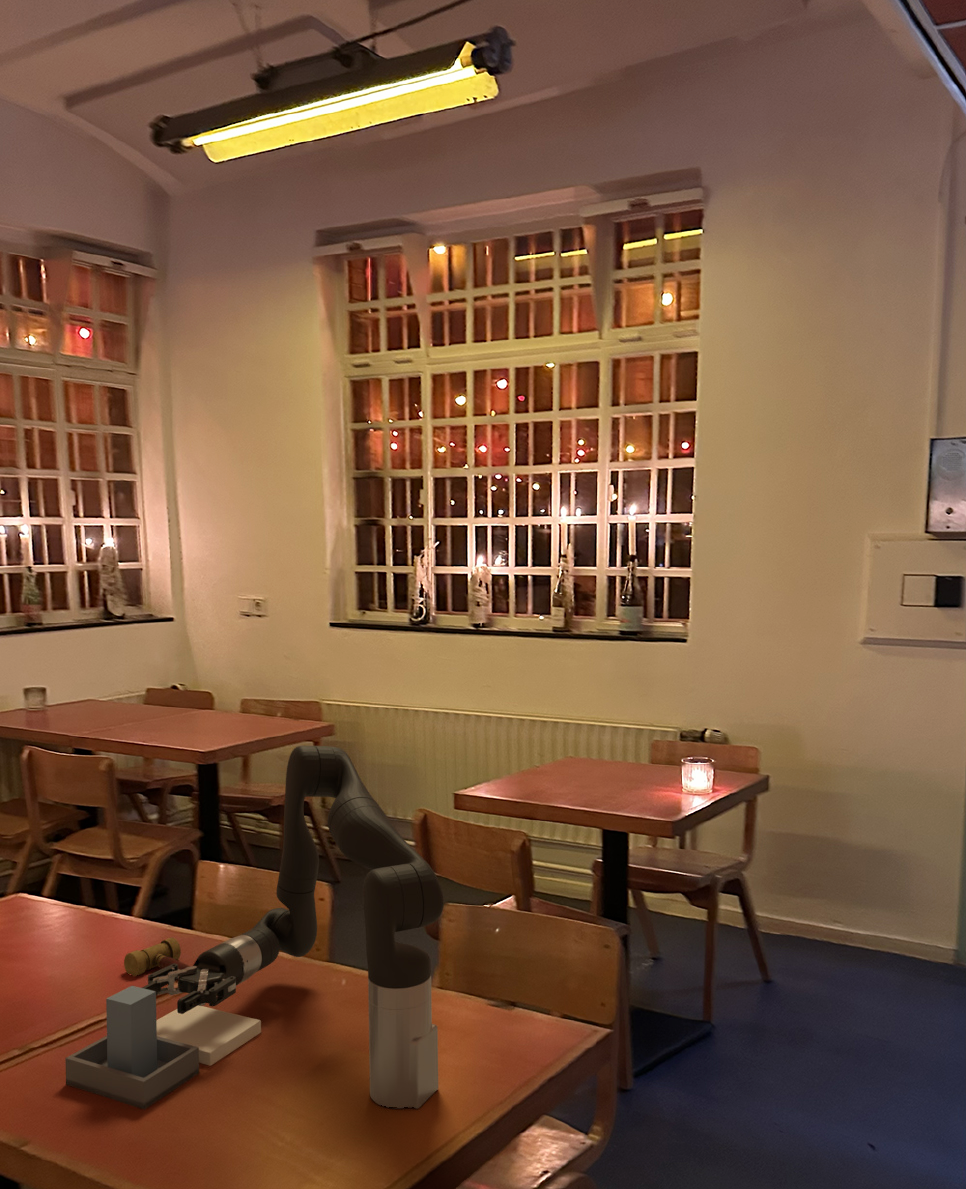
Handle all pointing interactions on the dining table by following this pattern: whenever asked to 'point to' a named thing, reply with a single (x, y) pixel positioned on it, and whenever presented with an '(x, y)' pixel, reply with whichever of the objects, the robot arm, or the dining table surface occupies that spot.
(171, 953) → the gavel
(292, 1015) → the dining table surface
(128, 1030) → the tile block
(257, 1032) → the bench board
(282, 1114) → the dining table surface
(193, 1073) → the tray
